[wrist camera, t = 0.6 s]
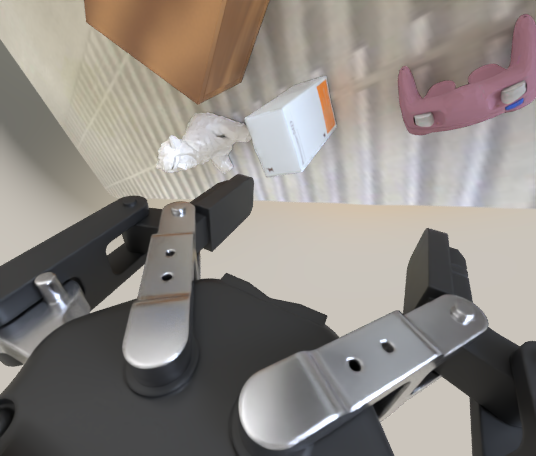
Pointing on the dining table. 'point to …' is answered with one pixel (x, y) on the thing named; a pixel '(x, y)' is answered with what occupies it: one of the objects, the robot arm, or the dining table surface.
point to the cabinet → (184, 38)
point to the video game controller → (474, 90)
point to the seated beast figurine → (202, 144)
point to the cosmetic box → (292, 127)
